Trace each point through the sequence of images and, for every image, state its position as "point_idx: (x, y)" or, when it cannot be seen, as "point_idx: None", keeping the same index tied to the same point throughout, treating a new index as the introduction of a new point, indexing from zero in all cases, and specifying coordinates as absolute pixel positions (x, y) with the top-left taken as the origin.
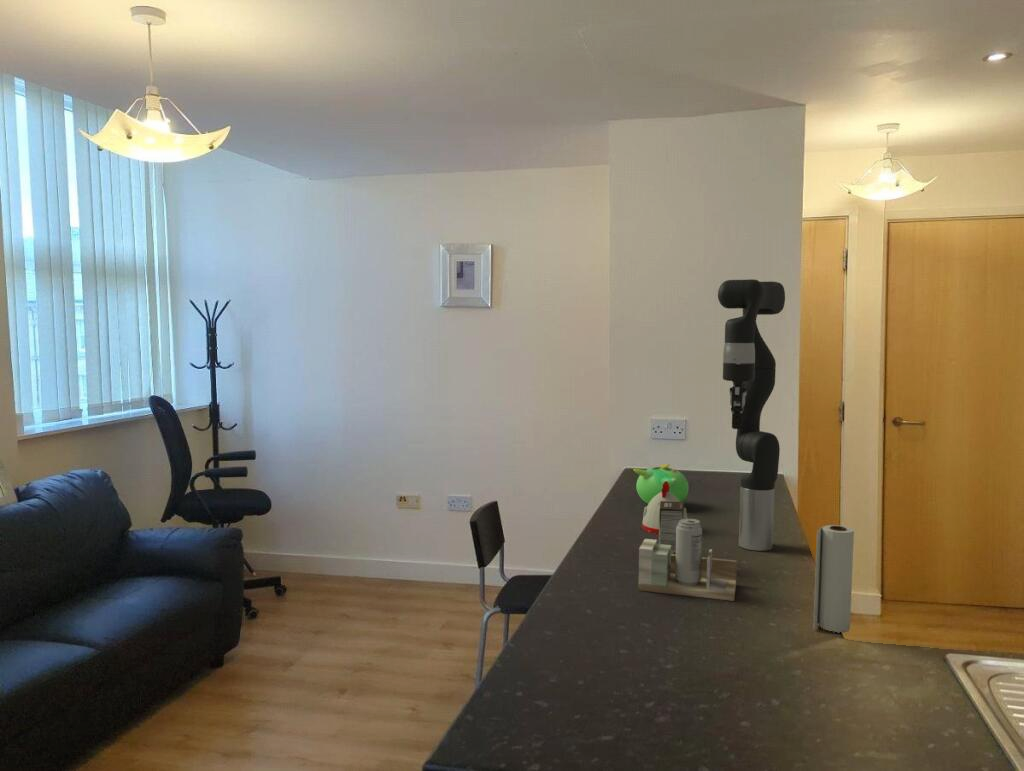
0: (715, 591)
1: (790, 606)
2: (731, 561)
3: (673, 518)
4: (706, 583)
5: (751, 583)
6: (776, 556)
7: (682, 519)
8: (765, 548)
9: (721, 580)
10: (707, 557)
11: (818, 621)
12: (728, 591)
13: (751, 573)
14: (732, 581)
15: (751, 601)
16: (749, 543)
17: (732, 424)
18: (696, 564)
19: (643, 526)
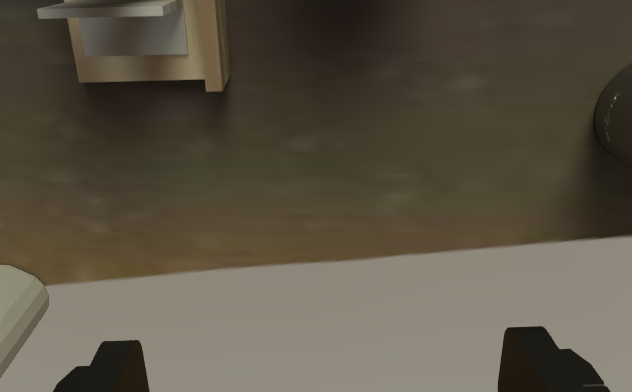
0: (78, 28)
1: (116, 212)
2: (205, 75)
3: None
4: (70, 1)
5: (259, 115)
6: (547, 172)
7: None
8: (602, 143)
9: (173, 39)
10: (50, 9)
11: (12, 271)
12: (97, 65)
13: (354, 111)
14: (194, 70)
15: (106, 123)
16: (612, 98)
17: (91, 370)
18: None
19: None
